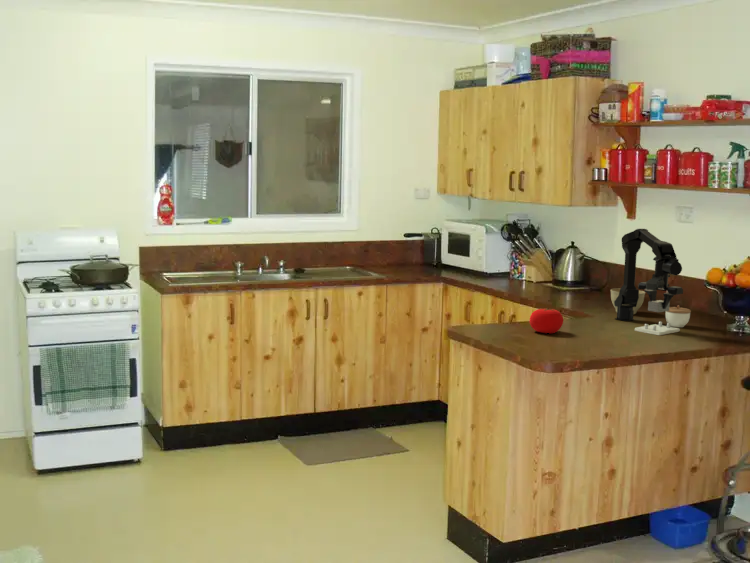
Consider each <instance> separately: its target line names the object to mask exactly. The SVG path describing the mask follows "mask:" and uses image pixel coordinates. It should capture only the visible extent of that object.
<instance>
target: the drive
mask: <svg viewBox="0 0 750 563" xmlns="http://www.w3.org/2000/svg"><path fill="white" fill-rule="evenodd" d="M670 302H671V301H669V303H668V305H667V307H666V309H663V304H664V300H662V299H659V300H658V299H656V300H655V301H650V300H649V301H648V303H647V304H648V305H647V311H649V312H653V313H654V312H655V313H663V312H666V311H669V307H670V304H671V303H670Z"/></svg>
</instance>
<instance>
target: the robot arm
mask: <svg viewBox="0 0 750 563" xmlns="http://www.w3.org/2000/svg"><path fill="white" fill-rule="evenodd" d="M643 243H644V244H646V245H647V246H649V247H650V248H651V252H652V254H654V255H655V257H654V258H653V259H652V260H653V261H654V262H655V264H654V273H653V274H652V277H651V278H650V279H649V280H647V281H642V282H639V283H638V285H637V287H636V285H635V284H636V269H637V254H638V252H640V250H641V246H642V244H643ZM621 248H622V250H623V251H624V253H625V254H624V269H623V283H622V284H623V285H622V286H621V289H620V291H619V296H618V297H617V298H616V300H615V301H614V304H615V306H617V312H616V317H614V320H618V321H624V322H630V321H631V322H632V321H635V318H634V314H633V307H636V305H637V302H638V298H639V290H641V291H643V290H644V292H645V294H647V295H648V297H649V299H650V300H649V301H655V300H657V294H658V291H661V292H662V291H664V293H662V294H663V301H664V304H663V309H666V307H667V305H668V303H669V302H671V300H672V298H673V297H674V296H677V295H682V294H684V289H683V287H681V286H674V285H673V286H670V283H669V278H670V277H671V275H672V276H678V275H680V274H681V273H682V271H683V267H682V264H681V263H680V262H679V259H678V258H677V254H676V251H675V250H674V246H673V244H672V243H670V242H668V241H665V240H664V241H663V240H660V239H659V238H658V237H656V236H655V235H654V234H652V233H651V232H650V231H649V230H648V229H647V228H636V229H635V230H633V231H630V232H628V233H625V234H624V235H623V236H622V237H621Z"/></svg>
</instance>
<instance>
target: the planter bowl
mask: <svg viewBox="0 0 750 563" xmlns="http://www.w3.org/2000/svg"><path fill="white" fill-rule="evenodd" d="M621 288H622V287H621ZM621 288H619V287H618V288H611V289H610V299H611V302H612V305H613V307H614V309H615V313H617V306H615V304H614V301H615V300H616V298H617V297H618V296H619V291H620V289H621ZM638 290H639V298H638V302H637V305H636V307H633V315H636V314H637V312H638V310H639V309H640V308H641V307H642V305H643V303H644V300H645V295H646V292H645V291H643V290H641V289H638Z"/></svg>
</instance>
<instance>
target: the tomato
mask: <svg viewBox="0 0 750 563" xmlns="http://www.w3.org/2000/svg"><path fill="white" fill-rule="evenodd" d="M528 322H529V325H530V326H531V328H532V329H533V331H535V332H538V333H542V334H547V333H549V335H550V334H555V333H557V332H558V331H560V330H561V328H562V327H563V324H564V317H563V314H562V313H561V312H560V311H559V310H557V309H555V308H549V307H546V308H538V309H535V310H533V312H531V314H530V316H529V321H528Z"/></svg>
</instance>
